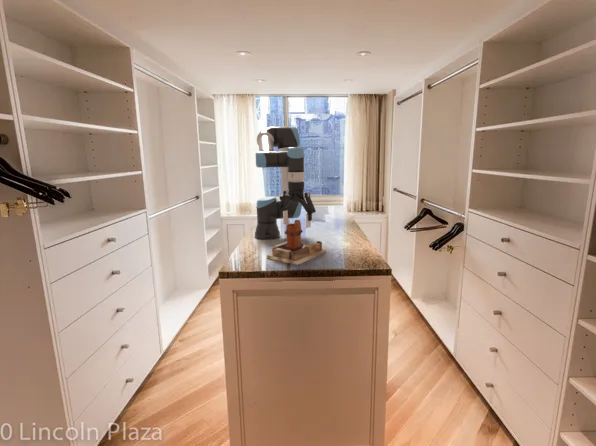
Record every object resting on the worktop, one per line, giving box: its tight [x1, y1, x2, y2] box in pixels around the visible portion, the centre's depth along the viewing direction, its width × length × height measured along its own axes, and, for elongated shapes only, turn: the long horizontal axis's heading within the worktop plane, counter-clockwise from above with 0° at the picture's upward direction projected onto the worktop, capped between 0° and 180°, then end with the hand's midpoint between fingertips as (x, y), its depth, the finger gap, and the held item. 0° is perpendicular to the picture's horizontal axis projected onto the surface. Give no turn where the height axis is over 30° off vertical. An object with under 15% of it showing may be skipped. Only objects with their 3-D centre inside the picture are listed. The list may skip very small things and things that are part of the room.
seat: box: [266, 240, 327, 266], centre depth 157 cm, size 18×24×5 cm
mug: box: [284, 219, 304, 252], centre depth 156 cm, size 15×8×15 cm, turn 164°
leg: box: [305, 240, 323, 254], centre depth 158 cm, size 11×3×4 cm, turn 140°
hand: (296, 225), depth 155 cm, fingers open, 13 cm apart
